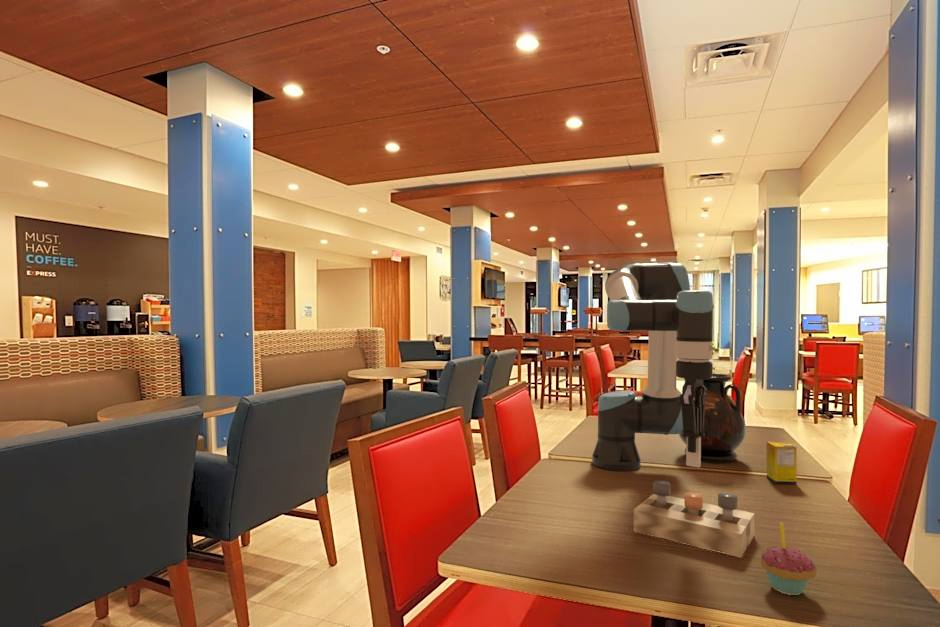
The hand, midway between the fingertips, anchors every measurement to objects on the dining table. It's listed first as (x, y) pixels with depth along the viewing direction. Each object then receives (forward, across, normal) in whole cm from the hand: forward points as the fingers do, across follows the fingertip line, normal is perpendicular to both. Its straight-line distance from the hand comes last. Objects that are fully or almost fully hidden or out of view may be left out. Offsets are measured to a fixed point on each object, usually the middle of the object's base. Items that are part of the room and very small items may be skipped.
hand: (693, 465), depth 121 cm
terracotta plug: (+12, 0, 0) cm, 12 cm away
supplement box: (+16, +54, -10) cm, 58 cm away
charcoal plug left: (+10, 0, +7) cm, 12 cm away
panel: (+15, 0, 0) cm, 15 cm away
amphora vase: (+16, +70, +13) cm, 73 cm away
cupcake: (+15, -15, -20) cm, 30 cm away
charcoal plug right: (+10, 0, -7) cm, 12 cm away
